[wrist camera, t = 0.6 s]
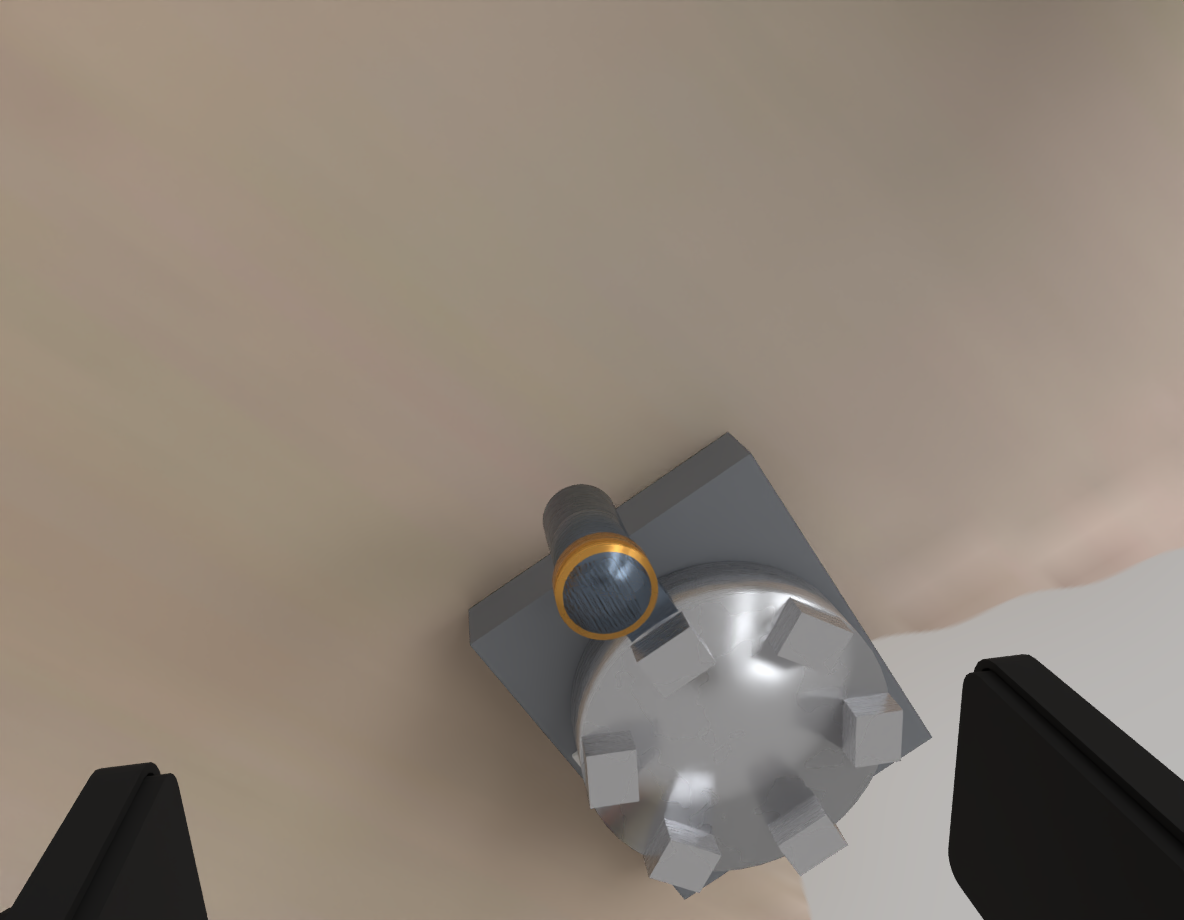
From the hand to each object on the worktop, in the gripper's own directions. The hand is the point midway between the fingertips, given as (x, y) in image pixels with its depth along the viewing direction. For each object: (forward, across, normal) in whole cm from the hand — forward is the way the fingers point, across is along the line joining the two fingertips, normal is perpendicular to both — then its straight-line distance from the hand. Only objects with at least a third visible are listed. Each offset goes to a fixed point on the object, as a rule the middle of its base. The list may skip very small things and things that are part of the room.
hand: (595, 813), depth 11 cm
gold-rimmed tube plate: (+23, -6, +11) cm, 26 cm away
